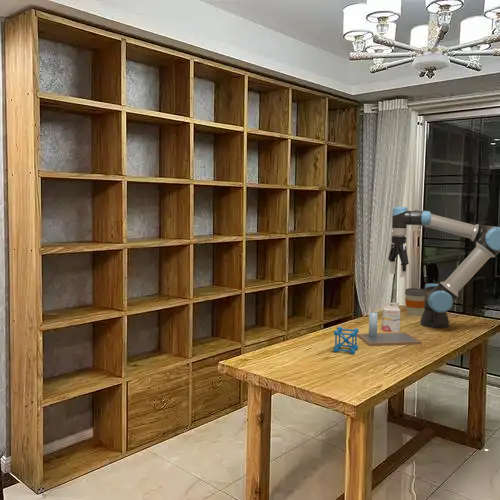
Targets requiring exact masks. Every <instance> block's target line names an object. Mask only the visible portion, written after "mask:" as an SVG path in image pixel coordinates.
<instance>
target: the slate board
mask: <svg viewBox="0 0 500 500" xmlns="http://www.w3.org/2000/svg"><path fill="white" fill-rule="evenodd" d="M357 337H358V338H359V339H360V340H362V342H364V343H365V344H367V345H368V346H369V347H379V346H405V345H406V346H408V345H409V346H410V345H422V344H423V341H421V340H419V339H417V338H416V337H414V336H412V335H411V334H410V333H407V332H406V331H405V332H403V331H402V332H400V331H399V332H377V337H376V338H371V337H369V332H368V333H357Z"/></svg>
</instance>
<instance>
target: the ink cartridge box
mask: <svg viewBox="0 0 500 500" xmlns="http://www.w3.org/2000/svg"><path fill="white" fill-rule="evenodd" d="M399 305H400V303H399V302H383V307H382V320H381V321H382V322H381V323H382V324H381V329H382V331H383V332H390V333H400V327H401V326H400V325H401V309H400V308H399V307H400V306H399Z"/></svg>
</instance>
